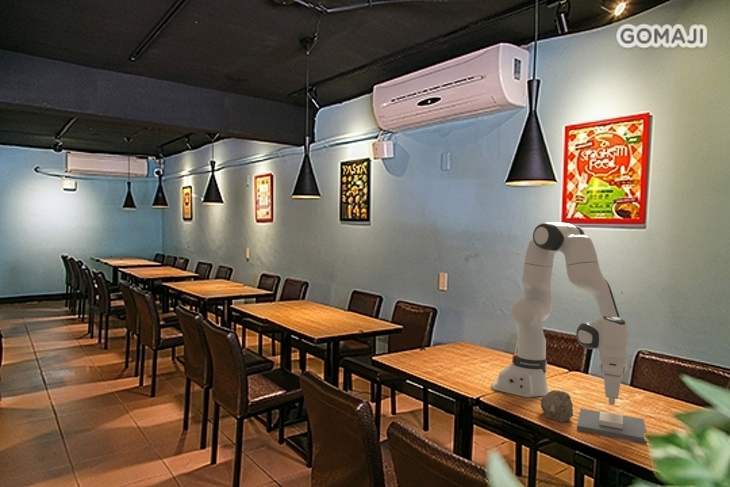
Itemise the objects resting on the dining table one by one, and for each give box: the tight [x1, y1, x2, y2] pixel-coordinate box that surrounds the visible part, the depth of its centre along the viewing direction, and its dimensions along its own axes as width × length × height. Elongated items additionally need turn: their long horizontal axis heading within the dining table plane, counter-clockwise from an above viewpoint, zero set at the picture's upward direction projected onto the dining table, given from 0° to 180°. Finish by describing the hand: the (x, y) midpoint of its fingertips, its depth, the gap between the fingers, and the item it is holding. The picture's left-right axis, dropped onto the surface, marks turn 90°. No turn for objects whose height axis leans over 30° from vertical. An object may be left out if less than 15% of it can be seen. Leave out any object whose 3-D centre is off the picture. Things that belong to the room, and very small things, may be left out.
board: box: [576, 408, 647, 444], centre depth 163 cm, size 20×18×2 cm
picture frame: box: [599, 411, 624, 429], centre depth 163 cm, size 7×2×9 cm
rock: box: [540, 389, 574, 423], centre depth 170 cm, size 14×10×8 cm
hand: (611, 403), depth 166 cm, fingers closed
